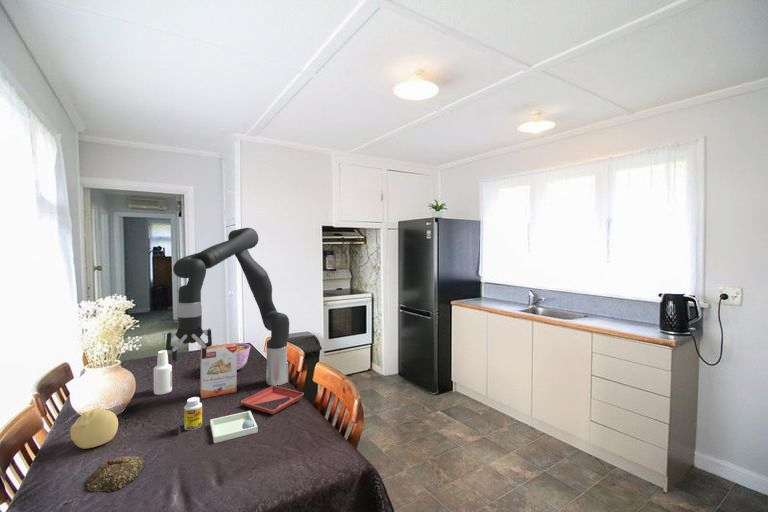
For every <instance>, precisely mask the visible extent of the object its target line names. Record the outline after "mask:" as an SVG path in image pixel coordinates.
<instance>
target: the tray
mask: <svg viewBox="0 0 768 512" xmlns="http://www.w3.org/2000/svg"><path fill="white" fill-rule="evenodd" d="M246 420H250V421H252V423H253V427H250V428H246V429H243V428H242V425H243V423H244V422H245V421H246ZM209 423H210V424H209V425H210V432H211V435H212V439H213V444H217V443H222V442H225V441H228V440H233V439H236V438H241V437H244V436H249V435H252V434H256V433H258V432H259V430H258V424H257V423H256V421H255V418H254V416H253V414H252V411H251V410H247V411H244V412H243V411H242V412H238V413H233V414H230V415H226V416H220V417H216V418H211V419H209Z"/></svg>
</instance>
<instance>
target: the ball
mask: <svg viewBox="0 0 768 512" xmlns="http://www.w3.org/2000/svg"><path fill="white" fill-rule="evenodd" d="M250 427H253V423H252V421H250V420H246V421H245V422H244V423H243V425H242V428H243V429H246V428H250Z"/></svg>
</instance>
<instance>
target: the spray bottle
mask: <svg viewBox="0 0 768 512" xmlns="http://www.w3.org/2000/svg"><path fill="white" fill-rule="evenodd" d="M172 391H173V365H172V364H169V356H168V350H166V349H164V350H162V349H161V350H159V351H157V362H156V365H155V366H154V367H153V394H154V395H156V396H157V395H159V396H160V395H165V394H168V393H171V392H172Z"/></svg>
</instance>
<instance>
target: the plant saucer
mask: <svg viewBox="0 0 768 512" xmlns="http://www.w3.org/2000/svg"><path fill="white" fill-rule="evenodd" d="M303 396H304V392H300V391H297V390H293V389H290V388H285V387H280V386H271V385H270V386H269V387H267V388H264V389H262V390H261V391H259V392H257V393H255V394H252V395H250V396H249V397H245V398H244V399H242V400H241V401H240V402H241V403H242V405H244V406H245V407H247V408H250V409H253V410H257V411H260V412H262V413H265V414H270V415H275V414H277V413H278V412H280V411H283V410H284V409H285V408H288V407H289V406H290V405H293V404H296V403H298V401H300V400H301V399H302V397H303ZM284 398H285V399H286V398H289V400H287V401H285V402H283V403H281V404H279V405H278V406H277V407H276V408H275V409H269V408H265V407H264V406H263V407H262V406H259V405H257V404H263V403H267V402H272V401H276V400H281V399H284ZM295 402H296V403H295Z"/></svg>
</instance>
